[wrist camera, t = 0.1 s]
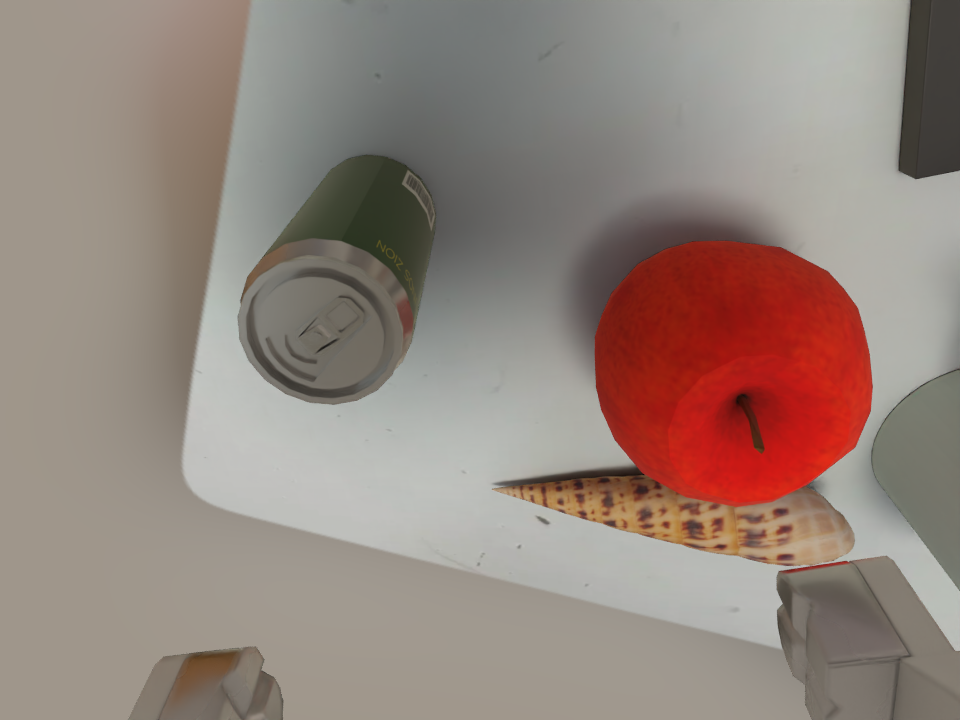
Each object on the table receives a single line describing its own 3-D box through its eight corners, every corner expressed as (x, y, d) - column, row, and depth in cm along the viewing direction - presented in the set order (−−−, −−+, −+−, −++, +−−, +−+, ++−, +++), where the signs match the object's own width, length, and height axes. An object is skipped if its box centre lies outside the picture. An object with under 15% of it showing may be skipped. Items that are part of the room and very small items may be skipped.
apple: (783, 166, 30) (942, 276, 19) (796, 359, 35) (931, 532, 24) (556, 226, 32) (590, 359, 21) (599, 403, 36) (643, 585, 26)
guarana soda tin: (379, 124, 29) (318, 212, 19) (462, 220, 31) (447, 347, 21) (292, 203, 31) (191, 323, 21) (375, 289, 33) (322, 438, 23)
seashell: (810, 518, 40) (849, 586, 35) (490, 508, 40) (490, 575, 35) (832, 455, 38) (876, 520, 33) (493, 445, 38) (494, 507, 33)
